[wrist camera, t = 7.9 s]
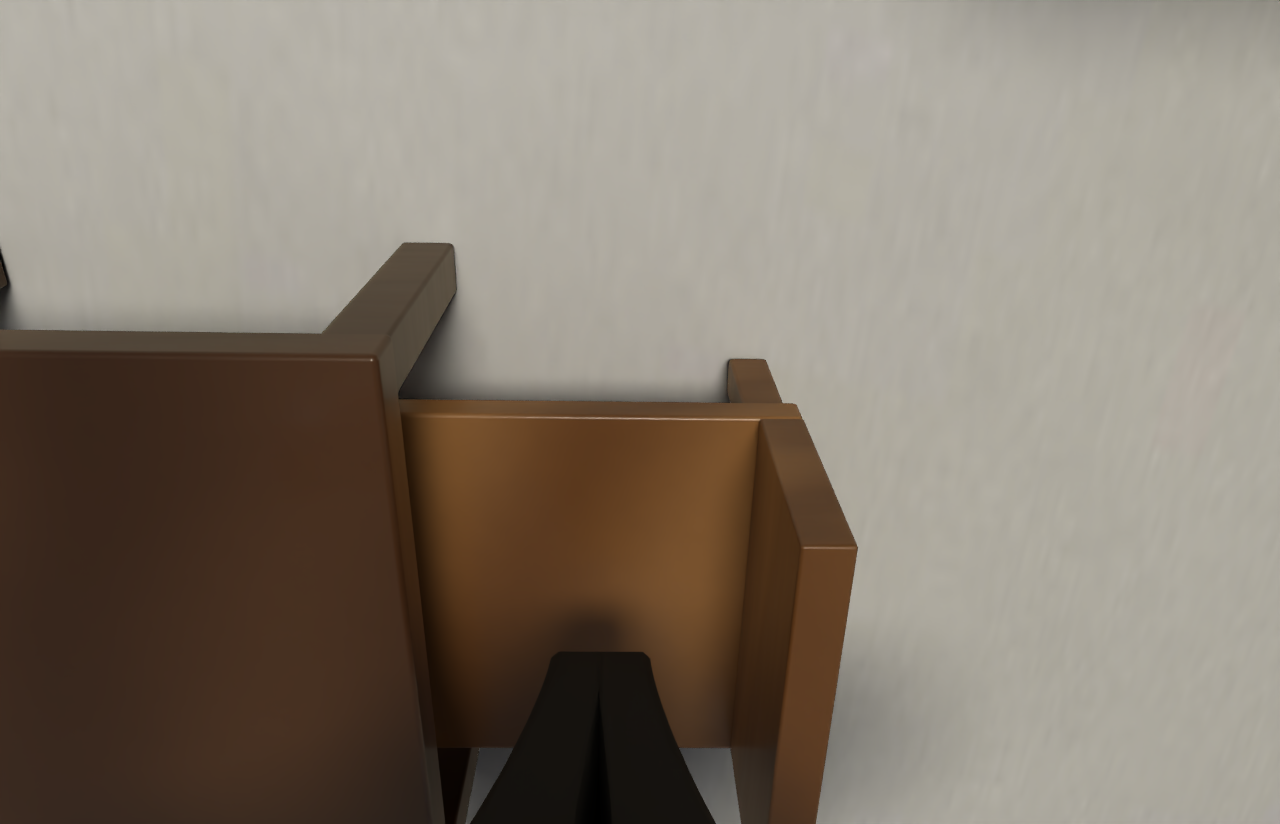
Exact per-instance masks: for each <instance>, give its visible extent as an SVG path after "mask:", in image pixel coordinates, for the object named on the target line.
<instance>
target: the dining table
mask: <svg viewBox="0 0 1280 824" xmlns="http://www.w3.org/2000/svg"><path fill="white" fill-rule="evenodd" d="M6 285H7V280H6V276H5V273H4V270H3V267H2V263H1V260H0V288H2V287H4V286H6ZM455 292H456V277H455V263H454V250H453V245H452V244H450V243H403V244H402V245H401V246H400V247H399V248H398V249H397V250H396V251H395V252H394V254H393V255H392V256H391V257H390V258H389V259H388V260H387V261H386V262H385V264H384V265H383V266H382V267H381V268H380V269H379V270H378V271H377V272H376V274H375V275H374V276H373V277H372V278H371V279H370V280H369V281H368V282H367V284H366V285H365V286H364V287H363V288H362V289H361V290H360V291H359V292H358V294H357V295H356V296H355V297H354V298H353V299H352V300H351V301H350V302H349V304H348V305H347V306H346V307H345V308H344V309H343V310H342V311H341V312H340V314H339V315H338V316H337V317H336V318H335V319H334V320H333V321H332V322H331V324H330V325H329V326H328V327H327V328H326V329H325V330H324V331H323V332H322V334H303V333H223V332H143V331H63V330H0V824H465V822H466V817H467V812H468V807H469V802H470V796H471V791H472V786H473V781H474V775H475V770H476V765H477V760H478V755H479V749H480V748H437V743H436V734H435V725H434V716H433V707H432V698H431V689H430V680H429V670H428V661H427V652H426V643H425V634H424V625H423V616H422V607H421V598H420V588H419V579H418V570H417V561H416V552H415V543H414V534H413V525H412V515H411V506H410V497H409V488H408V479H407V470H406V461H405V452H404V443H403V433H402V424H401V415H400V406H399V397H398V392H399V390H400V388H401V386H402V385H403V383H404V381H405V379H406V378H407V376H408V374H409V372H410V371H411V369H412V367H413V365H414V364H415V362H416V360H417V358H418V357H419V355H420V353H421V351H422V350H423V348H424V346H425V344H426V343H427V341H428V339H429V337H430V336H431V334H432V332H433V330H434V329H435V327H436V325H437V323H438V322H439V320H440V318H441V316H442V315H443V313H444V311H445V309H446V308H447V306H448V304H449V302H450V301H451V299H452V297H453V295H454V294H455Z"/></svg>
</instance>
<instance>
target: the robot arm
mask: <svg viewBox="0 0 1280 824" xmlns="http://www.w3.org/2000/svg"><path fill="white" fill-rule="evenodd" d="M470 824H716V823H715V821H714V819H713V817H712V815H711V813H710V812H709V810H708V808H707V806H706V804H705V802H704V800H703V798H702V796H701V795H700V792H699V790H698V788H697V786H696V784H695V782H694V780H693V778H692V776H691V774H690V772H689V770H688V767H687V765H686V763H685V761H684V758H683V756H682V754H681V752H680V749H679V747H678V745H677V743H676V740H675V738H674V735H673V733H672V730H671V728H670V725H669V723H668V720H667V717H666V715H665V712H664V709H663V706H662V703H661V700H660V697H659V694H658V691H657V687H656V684H655V680H654V676H653V672H652V667H651V660H650V658H649V657H648V656H647V655H646V654H645V653H644V652H568V651H559V652H558V653H556V654H555V655H554V656H553V657H551V660H550V664H549V667H548V671H547V674H546V677H545V680H544V682H543V685H542V688H541V690H540V693H539V695H538V698H537V700H536V702H535V705H534V707H533V709H532V711H531V714H530V716H529V718H528V720H527V723H526V725H525V727H524V729H523V731H522V733H521V734H520V736H519V738H518V740H517V742H516V744H515V746H514V748H513V750H512V752H511V754H510V756H509V758H508V760H507V762H506V764H505V766H504V767H503V769H502V771H501V773H500V775H499V776H498V778H497V780H496V781H495V783H494V785H493V786H492V788H491V790H490V792H489V793H488V795H487V797H486V798H485V800H484V802H483V803H482V805H481V807H480V808H479V810H478V812H477V813H476V815H475V817H474V818H473V820H472V821H471V823H470Z"/></svg>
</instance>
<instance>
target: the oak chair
mask: <svg viewBox="0 0 1280 824" xmlns="http://www.w3.org/2000/svg"><path fill="white" fill-rule="evenodd" d="M727 392H728V396H729V399H730V403H700V402H607V401H514V400H421V399H399V406H400V415H401V424H402V433H403V443H404V452H405V461H406V470H407V479H408V488H409V497H410V506H411V515H412V525H413V534H414V543H415V552H416V561H417V570H418V579H419V588H420V598H421V607H422V616H423V625H424V634H425V643H426V652H427V661H428V670H429V680H430V689H431V698H432V707H433V716H434V725H435V734H436V743H437V748H514V746H515V744H516V742H517V740H518V738H519V736H520V734H521V733H522V731H523V729H524V727H525V725H526V723H527V720H528V718H529V716H530V714H531V711H532V709H533V707H534V705H535V702H536V700H537V698H538V695H539V693H540V690H541V688H542V685H543V682H544V680H545V677H546V674H547V671H548V667H549V664H550V660H551V657H553V656H554V655H555V654H556V653H558V652H559V651H568V652H644V653H645V654H646V655H647V656H648V657H649V658H650V660H651V667H652V672H653V676H654V680H655V684H656V687H657V691H658V694H659V697H660V700H661V703H662V706H663V709H664V712H665V715H666V717H667V720H668V723H669V725H670V728H671V730H672V733H673V735H674V738H675V740H676V743H677V745H678V747H679V748H731V756H732V763H733V770H734V777H735V784H736V791H737V798H738V805H739V812H740V819H741V824H816V818H817V812H818V805H819V799H820V792H821V786H822V779H823V773H824V766H825V760H826V753H827V746H828V740H829V733H830V727H831V720H832V714H833V707H834V701H835V694H836V688H837V681H838V674H839V668H840V661H841V655H842V648H843V642H844V635H845V629H846V622H847V616H848V609H849V602H850V596H851V589H852V583H853V576H854V570H855V563H856V557H857V550H858V547H857V544H856V542H855V539H854V537H853V535H852V532H851V530H850V528H849V525H848V523H847V521H846V518H845V516H844V514H843V511H842V509H841V507H840V504H839V502H838V500H837V497H836V495H835V493H834V490H833V488H832V486H831V483H830V481H829V478H828V476H827V474H826V471H825V469H824V467H823V464H822V462H821V460H820V457H819V455H818V453H817V450H816V448H815V446H814V443H813V441H812V439H811V436H810V434H809V432H808V429H807V427H806V425H805V422H804V420H803V419H802V417H801V414H800V412H799V410H798V407H797V405H796V404H793V403H782V400H781V398H780V395H779V393H778V390H777V388H776V385H775V382H774V380H773V377H772V375H771V372H770V370H769V367H768V365H767V362H766V360H764V359H731V360H730V361H729V370H728V384H727Z"/></svg>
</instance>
